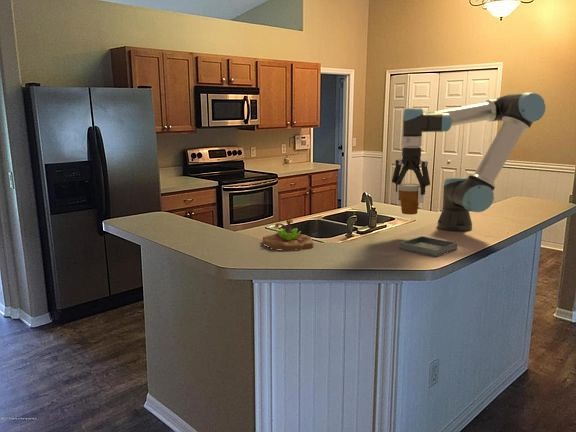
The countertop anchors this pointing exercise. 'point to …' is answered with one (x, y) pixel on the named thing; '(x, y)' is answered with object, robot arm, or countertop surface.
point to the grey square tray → (428, 246)
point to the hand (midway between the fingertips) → (409, 201)
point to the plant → (288, 239)
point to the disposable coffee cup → (409, 198)
